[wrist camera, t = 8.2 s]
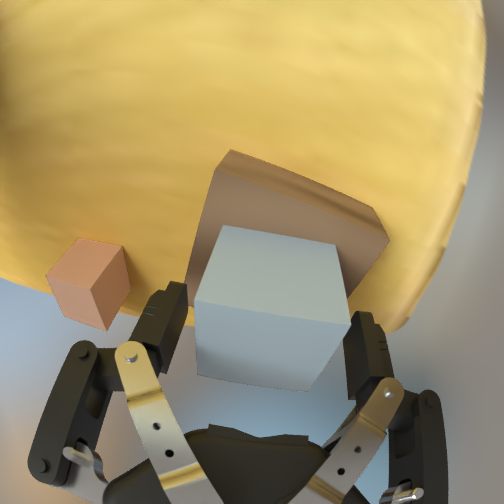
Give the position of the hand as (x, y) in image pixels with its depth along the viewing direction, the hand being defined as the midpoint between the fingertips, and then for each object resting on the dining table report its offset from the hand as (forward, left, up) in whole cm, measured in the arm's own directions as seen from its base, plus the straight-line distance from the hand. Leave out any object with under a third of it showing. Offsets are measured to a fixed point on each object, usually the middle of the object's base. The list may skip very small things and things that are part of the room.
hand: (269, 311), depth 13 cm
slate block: (0, 0, -3) cm, 3 cm away
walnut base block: (0, 0, -6) cm, 6 cm away
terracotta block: (+5, -13, -6) cm, 16 cm away
